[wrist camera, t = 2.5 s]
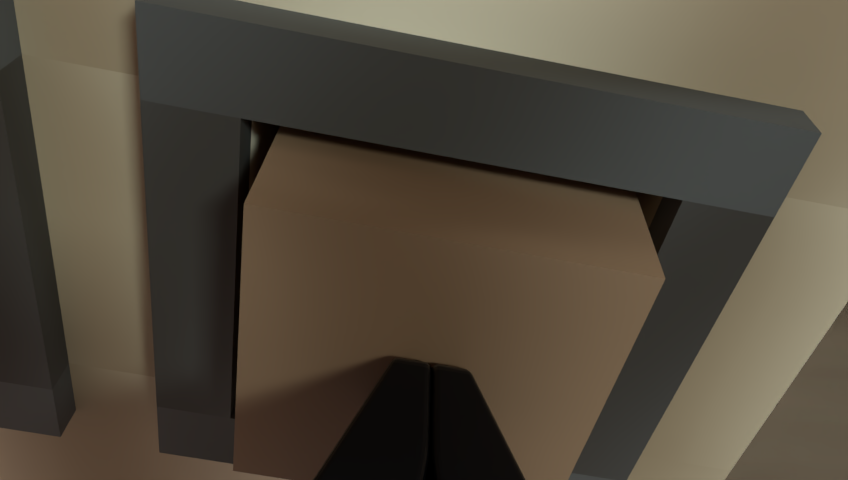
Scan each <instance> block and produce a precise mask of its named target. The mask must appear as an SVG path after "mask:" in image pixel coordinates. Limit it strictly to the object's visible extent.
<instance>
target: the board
mask: <svg viewBox="0 0 848 480" xmlns="http://www.w3.org/2000/svg"><path fill="white" fill-rule="evenodd" d="M280 126H284V127H290V128H295V129H300V130H306V131H311V132H317V133H322V134H327V135H333V136H338V137H344V138H349V139H354V140H360V141H365V142H371V143H376V144H381V145H387V146H392V147H398V148H403V149H408V150H414V151H419V152H425V153H430V154H435V155H441V156H446V157H452V158H457V159H462V160H468V161H473V162H479V163H484V164H489V165H495V166H500V167H506V168H511V169H516V170H522V171H527V172H533V173H538V174H543V175H549V176H554V177H560V178H565V179H570V180H576V181H581V182H587V183H592V184H597V185H603V186H608V187H614V188H619V189H624V190H630V191H635V192H636V195H637V198H638V201H639V203H640V206H641V209H642V212H643V215H644V218H645V221H646V224H647V227H648V230H649V232H650V235H651V238H652V241H653V244H654V247H655V250H656V253H657V256H658V258H659V261H660V264H661V267H662V270H663V273H664V276H665V281H664V283H663V285H662V287H661V289H660V291H659V293H658V295H657V297H656V299H655V301H654V304H653V306H652V308H651V310H650V312H649V314H648V316H647V318H646V320H645V322H644V324H643V326H642V328H641V330H640V332H639V334H638V337H637V339H636V341H635V343H634V345H633V347H632V349H631V351H630V353H629V355H628V357H627V359H626V361H625V363H624V365H623V367H622V370H621V372H620V374H619V376H618V378H617V380H616V382H615V384H614V386H613V388H612V390H611V392H610V394H609V396H608V398H607V400H606V403H605V405H604V407H603V409H602V411H601V413H600V415H599V417H598V419H597V421H596V423H595V425H594V427H593V429H592V431H591V433H590V436H589V438H588V440H587V442H586V444H585V446H584V448H583V450H582V452H581V454H580V456H579V458H578V460H577V462H576V464H575V466H574V469H573V471H572V473H571V475H570V477H569V479H568V480H725V478H726V477H727V475H728V474H729V472H730V471H731V470H732V468H733V467H734V465H735V464H736V462H737V461H738V459H739V458H740V457H741V455H742V454H743V452H744V451H745V449H746V448H747V446H748V445H749V444H750V442H751V441H752V439H753V438H754V436H755V435H756V433H757V432H758V431H759V429H760V428H761V426H762V425H763V423H764V422H765V420H766V419H767V418H768V416H769V415H770V413H771V412H772V410H773V409H774V407H775V406H776V405H777V403H778V402H779V400H780V399H781V397H782V396H783V394H784V393H785V392H786V390H787V389H788V387H789V386H790V384H791V383H792V381H793V380H794V379H795V377H796V376H797V374H798V373H799V371H800V370H801V368H802V367H803V366H804V364H805V363H806V361H807V360H808V358H809V357H810V355H811V354H812V353H813V351H814V350H815V348H816V347H817V345H818V344H819V342H820V341H821V340H822V338H823V337H824V335H825V334H826V332H827V331H828V329H829V328H830V327H831V325H832V324H833V322H834V321H835V319H836V318H837V316H838V315H839V314H840V312H841V311H842V309H843V308H844V306H845V305H846V303H847V302H848V0H0V480H288V479H282V478H276V477H269V476H263V475H256V474H250V473H243V472H237V471H233V456H234V431H235V407H236V382H237V358H238V333H239V308H240V284H241V259H242V235H243V210H244V202H245V200H246V198H247V196H248V194H249V191H250V189H251V187H252V185H253V183H254V181H255V179H256V176H257V174H258V172H259V170H260V168H261V166H262V164H263V162H264V159H265V157H266V155H267V153H268V151H269V149H270V147H271V144H272V142H273V140H274V138H275V136H276V134H277V132H278V130H279V127H280Z"/></svg>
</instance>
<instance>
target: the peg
mask: <svg viewBox="0 0 848 480" xmlns="http://www.w3.org/2000/svg"><path fill="white" fill-rule="evenodd" d="M664 281H665V276H664V273H663V270H662V267H661V264H660V261H659V258H658V256H657V253H656V250H655V247H654V244H653V241H652V238H651V235H650V232H649V230H648V227H647V224H646V221H645V218H644V215H643V212H642V209H641V206H640V203H639V201H638V198H637V195H636V192H635V191H630V190H624V189H619V188H614V187H608V186H603V185H597V184H592V183H587V182H581V181H576V180H570V179H565V178H560V177H554V176H549V175H543V174H538V173H533V172H527V171H522V170H516V169H511V168H506V167H500V166H495V165H489V164H484V163H479V162H473V161H468V160H462V159H457V158H452V157H446V156H441V155H435V154H430V153H425V152H419V151H414V150H408V149H403V148H398V147H392V146H387V145H381V144H376V143H371V142H365V141H360V140H354V139H349V138H344V137H338V136H333V135H327V134H322V133H317V132H311V131H306V130H300V129H295V128H290V127H284V126H280V127H279V130H278V132H277V134H276V136H275V138H274V140H273V142H272V144H271V147H270V149H269V151H268V153H267V155H266V157H265V159H264V162H263V164H262V166H261V168H260V170H259V172H258V174H257V176H256V179H255V181H254V183H253V185H252V187H251V189H250V191H249V194H248V196H247V198H246V200H245V202H244V210H243V235H242V259H241V284H240V308H239V333H238V358H237V382H236V407H235V431H234V456H233V471H237V472H243V473H250V474H256V475H263V476H269V477H276V478H282V479H288V480H313V479H314V478H315V476H316V475H317V473H318V472H319V470H320V469H321V467H322V466H323V464H324V463H325V461H326V459H327V458H328V456H329V455H330V453H331V452H332V450H333V449H334V447H335V446H336V444H337V443H338V441H339V440H340V438H341V437H342V435H343V434H344V432H345V431H346V429H347V428H348V426H349V424H350V423H351V421H352V420H353V418H354V417H355V415H356V414H357V412H358V411H359V409H360V408H361V406H362V405H363V403H364V402H365V400H366V399H367V397H368V396H369V394H370V393H371V391H372V389H373V388H374V386H375V385H376V383H377V382H378V380H379V379H380V377H381V376H382V374H383V373H384V371H385V370H386V368H387V367H388V365H389V364H390V362H391V361H392V360H393V359H395V358H404V359H410V360H416V361H422V362H426V363H428V364H429V365H430V368H432V367H433V366H434V365H436V364H440V365H446V366H452V367H458V368H464V369H467V370H468V371H470V372H471V373H472V375H473V377H474V379H475V381H476V383H477V385H478V387H479V389H480V391H481V393H482V395H483V397H484V399H485V401H486V403H487V405H488V407H489V408H490V410H491V412H492V414H493V416H494V418H495V420H496V422H497V424H498V426H499V428H500V430H501V432H502V434H503V436H504V438H505V440H506V442H507V444H508V446H509V448H510V450H511V452H512V454H513V456H514V458H515V460H516V462H517V464H518V466H519V468H520V470H521V472H522V474H523V476H524V478H525V480H568V479H569V477H570V475H571V473H572V471H573V469H574V466H575V464H576V462H577V460H578V458H579V456H580V454H581V452H582V450H583V448H584V446H585V444H586V442H587V440H588V438H589V436H590V433H591V431H592V429H593V427H594V425H595V423H596V421H597V419H598V417H599V415H600V413H601V411H602V409H603V407H604V405H605V403H606V400H607V398H608V396H609V394H610V392H611V390H612V388H613V386H614V384H615V382H616V380H617V378H618V376H619V374H620V372H621V370H622V367H623V365H624V363H625V361H626V359H627V357H628V355H629V353H630V351H631V349H632V347H633V345H634V343H635V341H636V339H637V337H638V334H639V332H640V330H641V328H642V326H643V324H644V322H645V320H646V318H647V316H648V314H649V312H650V310H651V308H652V306H653V304H654V301H655V299H656V297H657V295H658V293H659V291H660V289H661V287H662V285H663V283H664Z"/></svg>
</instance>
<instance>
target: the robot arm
mask: <svg viewBox="0 0 848 480" xmlns="http://www.w3.org/2000/svg"><path fill="white" fill-rule="evenodd" d="M313 480H525V478H524V476H523V474H522V472H521V470H520V468H519V466H518V464H517V462H516V460H515V458H514V456H513V454H512V452H511V450H510V448H509V446H508V444H507V442H506V440H505V438H504V436H503V434H502V432H501V430H500V428H499V426H498V424H497V422H496V420H495V418H494V416H493V414H492V412H491V410H490V408H489V407H488V405H487V403H486V401H485V399H484V397H483V395H482V393H481V391H480V389H479V387H478V385H477V383H476V381H475V379H474V377H473V375H472V373H471V372H470V371H468V370H467V369H464V368H458V367H452V366H446V365H440V364H436V365H434V366H433V367H432V368H430V365H429V364H428V363H426V362H422V361H416V360H410V359H404V358H395V359H393V360H392V361H391V362H390V364H389V365H388V367H387V368H386V370H385V371H384V373H383V374H382V376H381V377H380V379H379V380H378V382H377V383H376V385H375V386H374V388H373V389H372V391H371V393H370V394H369V396H368V397H367V399H366V400H365V402H364V403H363V405H362V406H361V408H360V409H359V411H358V412H357V414H356V415H355V417H354V418H353V420H352V421H351V423H350V424H349V426H348V428H347V429H346V431H345V432H344V434H343V435H342V437H341V438H340V440H339V441H338V443H337V444H336V446H335V447H334V449H333V450H332V452H331V453H330V455H329V456H328V458H327V459H326V461H325V463H324V464H323V466H322V467H321V469H320V470H319V472H318V473H317V475H316V476H315V478H314V479H313Z"/></svg>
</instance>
